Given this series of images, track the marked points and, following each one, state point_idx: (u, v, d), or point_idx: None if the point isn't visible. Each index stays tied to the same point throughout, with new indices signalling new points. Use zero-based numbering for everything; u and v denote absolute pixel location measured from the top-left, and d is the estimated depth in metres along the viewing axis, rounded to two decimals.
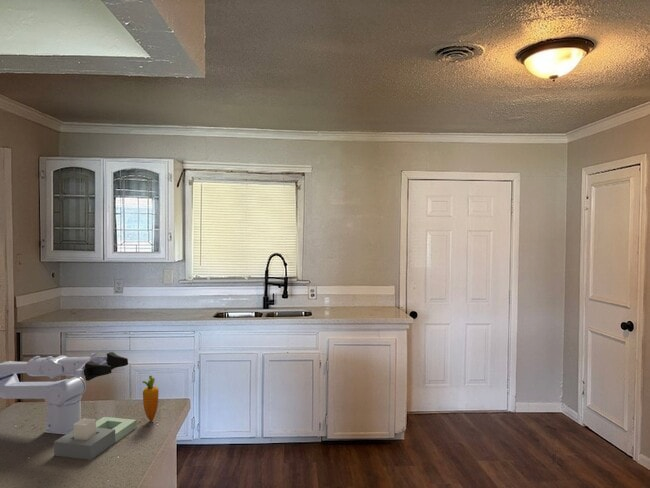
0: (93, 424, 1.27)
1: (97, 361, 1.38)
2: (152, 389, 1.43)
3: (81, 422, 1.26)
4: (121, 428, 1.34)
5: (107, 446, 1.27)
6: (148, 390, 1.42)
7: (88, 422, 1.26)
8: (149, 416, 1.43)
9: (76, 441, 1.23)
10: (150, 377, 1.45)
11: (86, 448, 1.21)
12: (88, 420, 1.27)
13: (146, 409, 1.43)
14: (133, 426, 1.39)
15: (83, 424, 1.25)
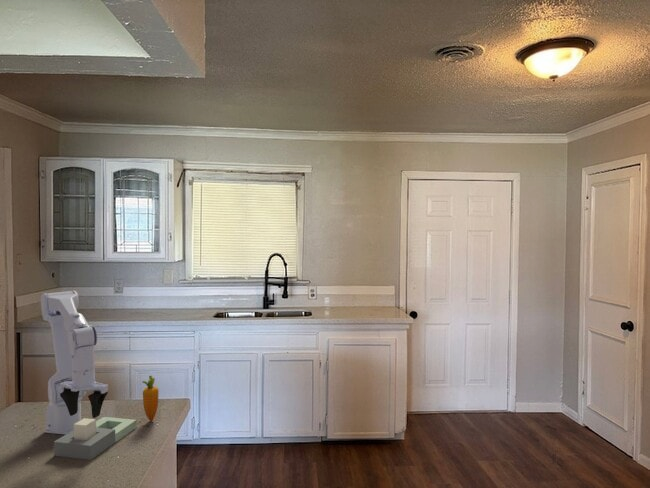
0: (93, 424, 1.27)
1: None
2: (152, 389, 1.43)
3: (81, 422, 1.26)
4: (121, 428, 1.34)
5: (107, 446, 1.27)
6: (148, 390, 1.42)
7: (88, 422, 1.26)
8: (149, 416, 1.43)
9: (76, 441, 1.23)
10: (150, 377, 1.45)
11: (86, 448, 1.21)
12: (88, 420, 1.27)
13: (146, 409, 1.43)
14: (133, 426, 1.39)
15: (83, 424, 1.25)
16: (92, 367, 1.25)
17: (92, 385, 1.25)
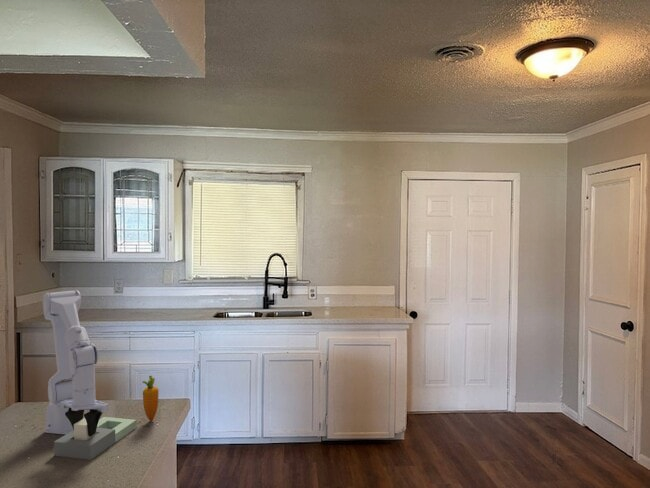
0: None
1: None
2: (152, 389, 1.43)
3: (81, 422, 1.26)
4: (121, 428, 1.34)
5: (107, 446, 1.27)
6: (148, 390, 1.42)
7: None
8: (149, 416, 1.43)
9: (76, 441, 1.23)
10: (150, 377, 1.45)
11: (86, 448, 1.21)
12: None
13: (146, 409, 1.43)
14: (133, 426, 1.39)
15: (83, 424, 1.25)
16: (92, 386, 1.26)
17: (92, 404, 1.25)
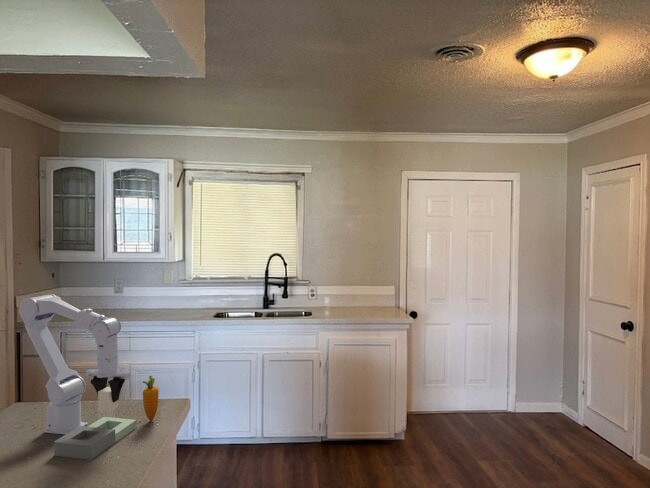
0: None
1: None
2: (152, 389, 1.43)
3: (105, 390, 1.35)
4: (121, 428, 1.34)
5: (107, 446, 1.27)
6: (148, 390, 1.42)
7: None
8: (149, 416, 1.43)
9: (76, 441, 1.23)
10: (150, 377, 1.45)
11: (86, 448, 1.21)
12: (110, 388, 1.37)
13: (146, 409, 1.43)
14: (133, 426, 1.39)
15: (107, 391, 1.34)
16: (117, 354, 1.37)
17: (116, 372, 1.35)
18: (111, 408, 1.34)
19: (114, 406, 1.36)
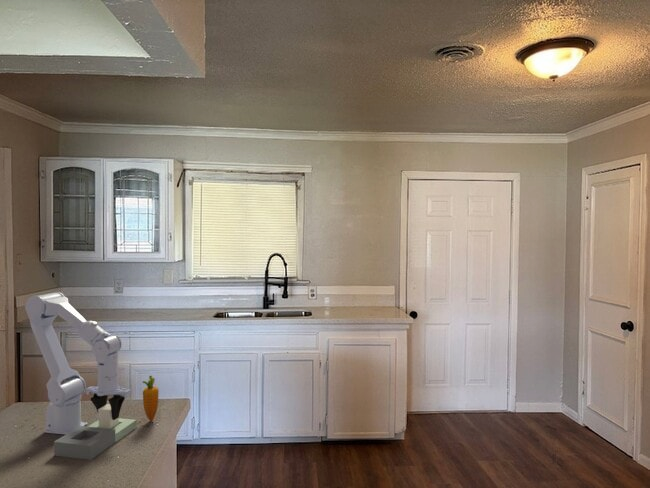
0: None
1: None
2: (152, 389, 1.43)
3: (105, 407, 1.36)
4: (121, 428, 1.34)
5: (107, 446, 1.27)
6: (148, 390, 1.42)
7: None
8: (149, 416, 1.43)
9: (76, 441, 1.23)
10: (150, 377, 1.45)
11: (86, 448, 1.21)
12: None
13: (146, 409, 1.43)
14: (133, 426, 1.39)
15: (107, 409, 1.34)
16: (117, 371, 1.37)
17: (116, 390, 1.35)
18: (111, 426, 1.34)
19: (114, 424, 1.36)
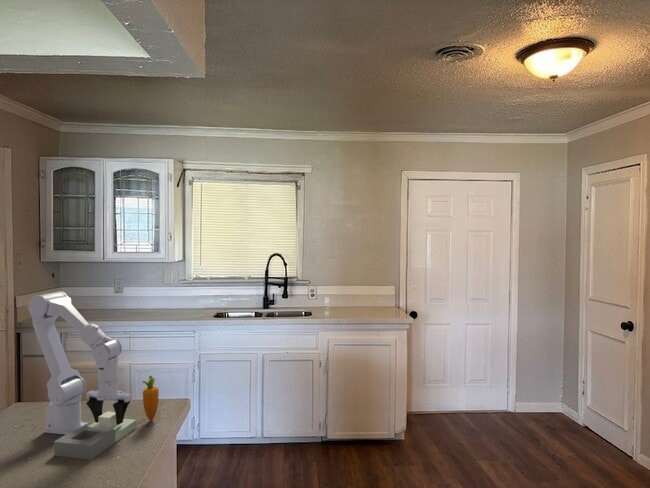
0: None
1: None
2: (152, 389, 1.43)
3: (105, 415, 1.36)
4: (121, 428, 1.34)
5: (107, 446, 1.27)
6: (148, 390, 1.42)
7: (111, 415, 1.36)
8: (149, 416, 1.43)
9: (76, 441, 1.23)
10: (150, 377, 1.45)
11: (86, 448, 1.21)
12: (111, 413, 1.37)
13: (146, 409, 1.43)
14: (133, 426, 1.39)
15: (107, 417, 1.34)
16: None
17: (116, 394, 1.35)
18: None
19: None
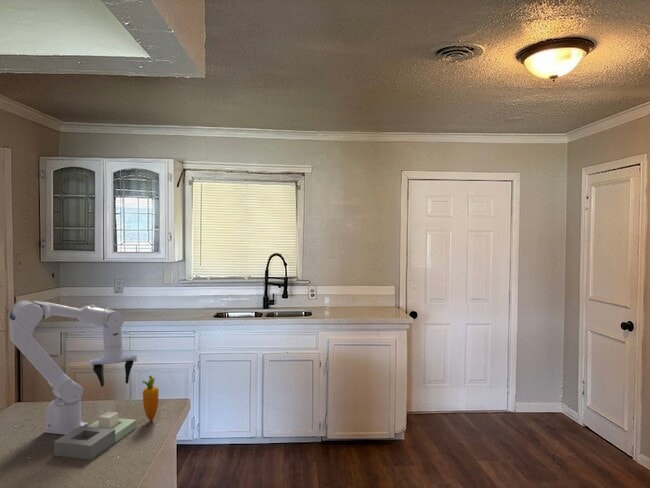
0: (116, 417, 1.37)
1: None
2: (152, 389, 1.43)
3: (105, 415, 1.36)
4: (121, 428, 1.34)
5: (107, 446, 1.27)
6: (148, 390, 1.42)
7: (111, 415, 1.36)
8: (149, 416, 1.43)
9: (76, 441, 1.23)
10: (150, 377, 1.45)
11: (86, 448, 1.21)
12: (111, 413, 1.37)
13: (146, 409, 1.43)
14: (133, 426, 1.39)
15: (107, 417, 1.34)
16: None
17: (123, 357, 1.50)
18: None
19: None
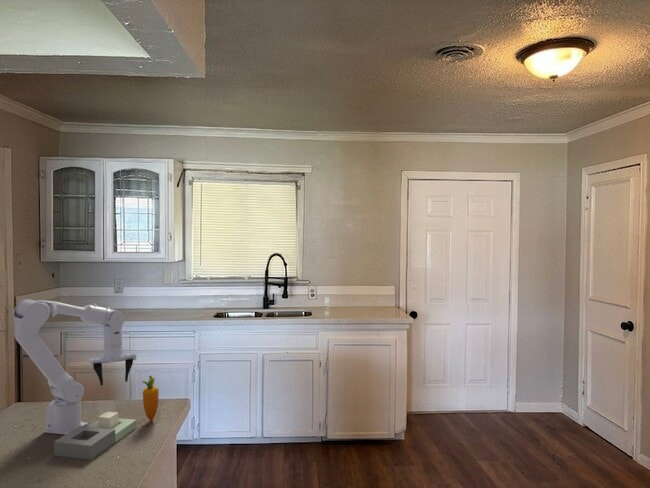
0: (116, 417, 1.37)
1: None
2: (152, 389, 1.43)
3: (105, 415, 1.36)
4: (121, 428, 1.34)
5: (107, 446, 1.27)
6: (148, 390, 1.42)
7: (111, 415, 1.36)
8: (149, 416, 1.43)
9: (76, 441, 1.23)
10: (150, 377, 1.45)
11: (86, 448, 1.21)
12: (111, 413, 1.37)
13: (146, 409, 1.43)
14: (133, 426, 1.39)
15: (107, 417, 1.34)
16: None
17: (123, 355, 1.52)
18: None
19: None
